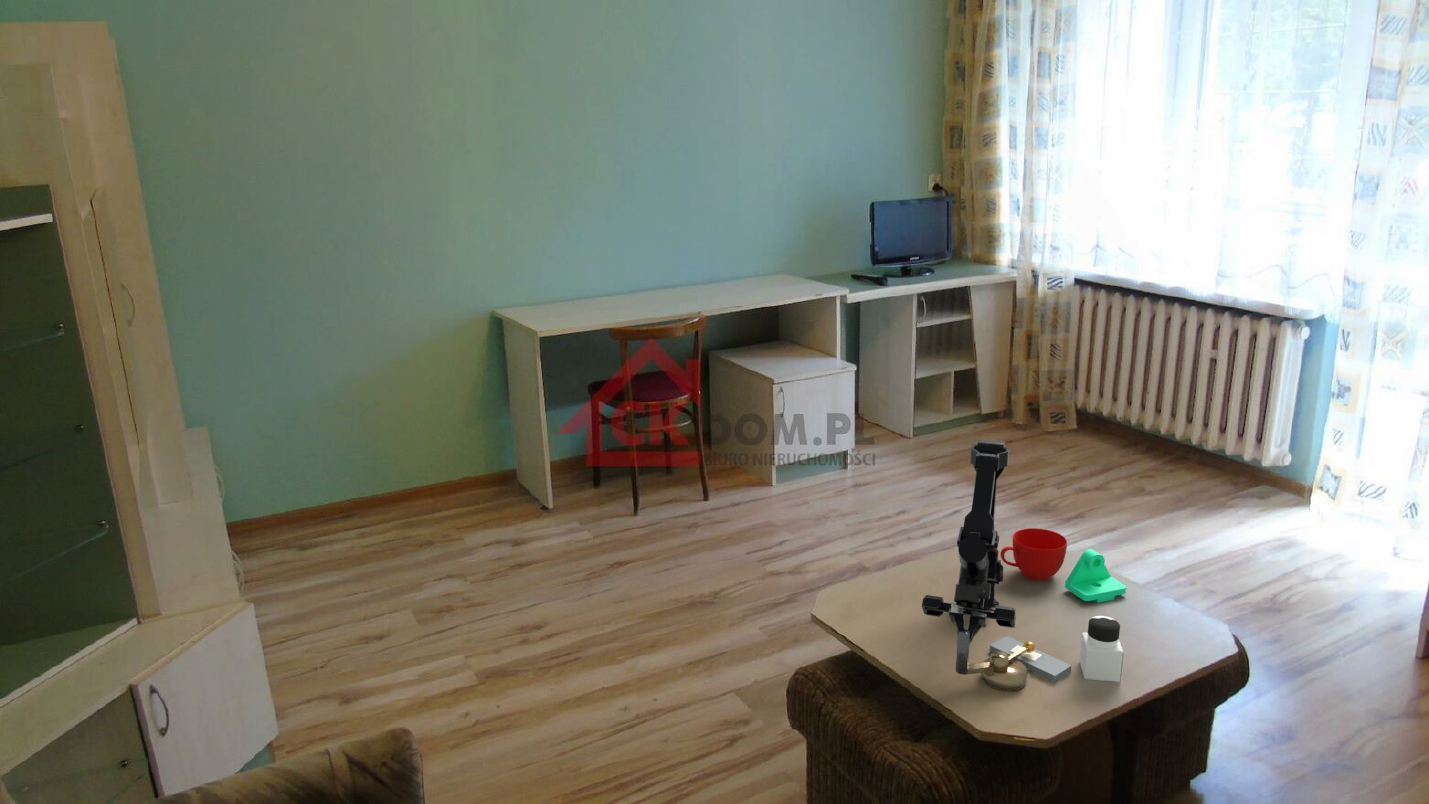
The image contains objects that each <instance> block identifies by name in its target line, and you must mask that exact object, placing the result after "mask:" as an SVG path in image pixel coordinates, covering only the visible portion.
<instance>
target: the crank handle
mask: <svg viewBox="0 0 1429 804" xmlns="http://www.w3.org/2000/svg"><path fill="white" fill-rule="evenodd" d="M956 637H957V638H956V639H957V640H956V657H955V658H956V659H955V672H956V673H957V674H958V675H962V676H963V675H964V676H965V675H973V674H974V675H975V674H980V678H981V680H982V681H983V682H984V683H985V684H986V685H987V686H988V687H990V688H993V689H996V690H1001V691H1009V692H1011V691H1012V692H1013V691H1018V690H1020V689H1022V688H1024V687H1026V684H1027V679H1028V678H1027V677H1028V669H1027V668H1026V667H1025V665H1024V664H1022V663H1021V662H1019V661H1018V660H1015V659H1016V658H1018V657H1020V656H1021V655H1023V654H1024V653H1026V652H1027V653H1032V652H1033V651H1034V650H1035V649H1036V646H1035V643H1034V642H1032V641H1030V640H1029V641H1026V642H1023V644H1024V645H1023V648H1022V649H1020V650H1018V651H1017V652H1015V653H1014V654H1012V655H1010V656H1008V654H1006V653H1004V652H1001V651H995V652H991V653H990V656H989V657H987V658H986V659H984V660H983V661H982V662H977V663H969V657H970V655H969V654H970V645H969V641H970V632H969V631H968V629H966V628H965V629H960V630H958V629H957V636H956Z"/></svg>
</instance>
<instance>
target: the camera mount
mask: <svg viewBox="0 0 1429 804" xmlns="http://www.w3.org/2000/svg"><path fill="white" fill-rule="evenodd" d="M1064 588H1065V589H1066V590H1068V591H1069V592H1071V593H1072V594H1073V595H1074V596H1076V597H1077V598H1079V599H1080V600H1082V601H1084V602H1091V601H1095V602H1096V603H1098V604H1099V603H1102V602H1108V601H1114V600H1115V597H1116V596H1120V595H1125V594H1126V593H1127V592H1126V591H1127V586H1126V585H1125V584H1123V583H1121V582H1120V581H1119V580H1117V579H1116V578H1114V577H1113V576H1111V574H1110V572H1109V570H1108V569H1107V566H1106V564H1105V556H1103V555H1102V554H1101V553H1099V552H1097V551H1095V550H1094V549H1092V548H1089V549H1088V548H1087V549H1086V550H1084V551H1083V552H1082V553H1081V555H1080V557H1079V559H1078V560H1077V562H1076V564H1075V565H1074V567H1073V569H1072V571H1071V572H1070V574H1069V575H1068V577H1067V578H1066V580H1065V584H1064Z"/></svg>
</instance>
